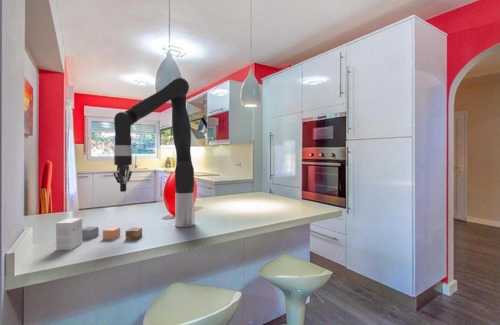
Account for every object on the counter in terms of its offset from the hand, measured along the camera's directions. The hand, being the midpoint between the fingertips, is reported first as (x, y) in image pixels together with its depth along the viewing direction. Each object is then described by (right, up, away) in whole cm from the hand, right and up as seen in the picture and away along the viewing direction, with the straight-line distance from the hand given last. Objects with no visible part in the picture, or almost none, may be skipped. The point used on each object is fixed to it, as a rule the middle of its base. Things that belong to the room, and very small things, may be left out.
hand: (123, 191), depth 124 cm
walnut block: (+9, -20, -10) cm, 24 cm away
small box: (-11, -20, -21) cm, 31 cm away
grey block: (-10, -19, -9) cm, 24 cm away
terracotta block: (-1, -19, -9) cm, 22 cm away
